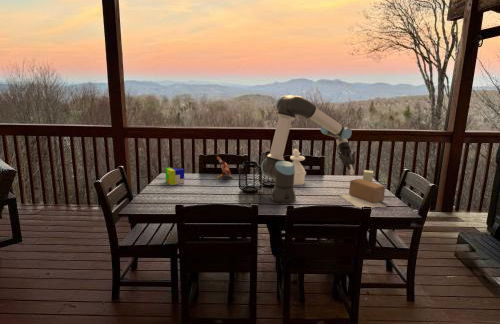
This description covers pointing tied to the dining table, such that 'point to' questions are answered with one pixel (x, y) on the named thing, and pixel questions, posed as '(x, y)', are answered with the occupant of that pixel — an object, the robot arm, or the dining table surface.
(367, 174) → the sage block
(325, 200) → the dining table surface
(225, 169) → the decorative bird
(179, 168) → the puzzle toy
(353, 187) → the wooden block
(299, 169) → the decorative object
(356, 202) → the mat
